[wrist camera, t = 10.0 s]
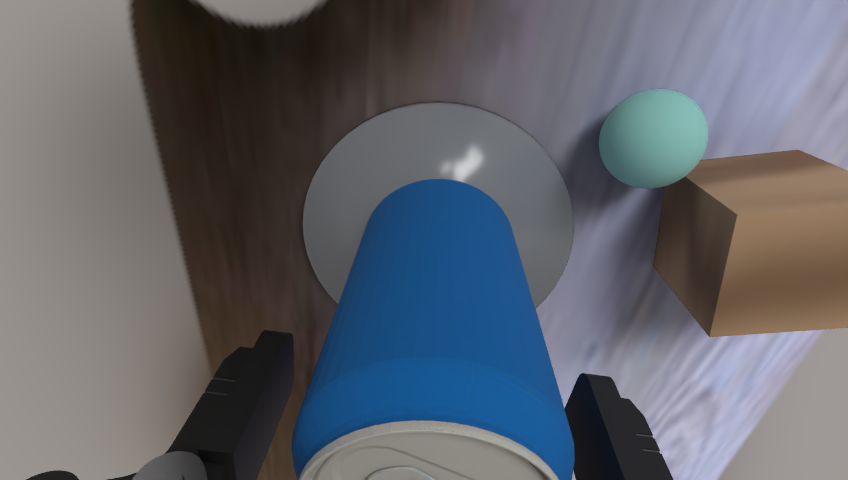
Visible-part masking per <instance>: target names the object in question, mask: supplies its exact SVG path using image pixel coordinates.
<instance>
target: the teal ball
mask: <svg viewBox="0 0 848 480" xmlns="http://www.w3.org/2000/svg"><path fill="white" fill-rule="evenodd" d="M707 143H708V125H707V121H706V118H705V116H704V114H703V112H702V110H701V109H700V107H699V106H698V105H697V104H696V103H695V102H694V101H693V100H692V99H691V98H689V97H687V96H685V95H684V94H682V93H679V92H677V91H672V90H668V89H651V90H645V91H642V92H639V93H636V94H634V95H632V96H630V97H628V98H626V99H624V100H623V101H622V102H620V103H619V104H618V105H617V106H616V107H615V108H614V109H613V110H612V111H611V112H610V113H609V115H608V116H607V118H606V120H605V121H604V123H603V126H602V128H601V132H600V137H599V151H600V156H601V159H602V161H603V163H604V165H605V167H606V168H607V170H608V171H609V172H610V173H611V174H612V175H613V176H614V177H615V178H616V179H618V180H619V181H621V182H623V183H625V184H627V185H630V186H633V187H637V188H646V189H649V188H659V187H663V186H667V185H670V184H672V183H675V182H677V181H679V180H680V179H682V178H683V177H685V176H686V175H687V174H689V173H690V172H691V171H692V170H693V169H694V168H695V167H696V165H697V164H698V163H699V161H700V160H701V158H702V156H703V154H704V152H705V150H706V147H707Z"/></svg>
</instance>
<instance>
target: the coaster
mask: <svg viewBox="0 0 848 480" xmlns="http://www.w3.org/2000/svg"><path fill="white" fill-rule="evenodd" d="M439 178H441V179H452V180H456V181H461V182H464V183H467V184H470V185H472V186H474V187H476V188H478V189H480V190H482V191H483V192H485V193H486V194H487V195H489V196H490V197H491V198H492V199H493V200H494V201H496V202H497V204H498V205H499V206H500V207H501V208H502V210H503V211H504V213H505V214H506V216H507V218H508V220H509V222H510V224H511V227H512V231H513V234H514V237H515V241H516V244H517V248H518V251H519V255H520V258H521V261H522V265H523V268H524V272H525V275H526V279H527V282H528V286H529V289H530V292H531V296H532V299H533V303H534V306H535V309H536V308H537V307H538V306H539V305H540V304H541V303H542V302H543V301H544V300H545V299H546V298H547V296H548V295H549V294H550V292H551V291H552V290H553V289H554V287H555V286H556V284H557V282H558V281H559V279H560V277H561V276H562V274H563V271H564V269H565V266H566V264H567V262H568V259H569V255H570V251H571V247H572V242H573V233H574V220H573V209H572V204H571V199H570V195H569V193H568V190H567V187H566V184H565V182H564V179H563V178H562V176H561V174H560V172H559V170H558V169H557V167H556V165H555V163H554V162H553V160H552V159H551V158H550V157H549V155H548V154H547V153H546V151H545V150H544V149H543V147H542V146H541V145H540V144H539V143H538V142H537V141H536V140H535V139H534V138H533V137H532V136H531V135H529V134H528V133H527V132H526V131H524V130H523V129H522V128H520V127H519V126H517V125H516V124H515V123H513V122H511V121H509V120H507V119H506V118H504V117H502V116H500V115H498V114H496V113H493V112H490V111H488V110H485V109H482V108H479V107H476V106H471V105H466V104H462V103H454V102H441V101H436V102H419V103H414V104H409V105H404V106H399V107H396V108H393V109H390V110H387V111H384V112H382V113H379V114H377V115H376V116H374V117H372V118H370V119H368V120H366V121H364V122H362V123H361V124H360V125H358V126H357V127H355V128H354V129H352V130H351V131H350V132H348V133H347V134H346V135H345V136H344V137H343V138H342V139H341V140H340V141H339V142H338V143H337V144H336V145H335V146H334V147H333V149H332V150H331V151H330V152H329V154H328V155H327V156H326V157H325V159H324V160H323V161H322V163H321V165H320V166H319V168H318V170H317V172H316V173H315V175H314V177H313V179H312V182H311V184H310V187H309V189H308V192H307V196H306V201H305V205H304V213H303V234H304V242H305V246H306V251H307V255H308V258H309V260H310V263H311V266H312V268H313V270H314V272H315V274H316V276H317V278H318V280H319V281H320V283H321V284H322V286H323V287H324V288H325V290H326V291H327V293H328V294H329V295H330V296H331V297H332V298H333V300H334V301H335V302H336V303H337V304H338V303H339V300H340V298H341V295H342V292H343V289H344V286H345V284H346V281H347V278H348V275H349V272H350V270H351V267H352V264H353V261H354V258H355V256H356V253H357V250H358V247H359V244H360V242H361V239H362V236H363V233H364V230H365V228H366V225H367V222H368V220H369V218H370V216H371V214H372V212H373V211H374V210H375V208H376V207H377V205H378V204H379V203H380V202H381V201H382V200H383V199H384V198H385V197H387V196H388V195H389V194H390V193H392V192H393V191H395V190H397V189H398V188H400V187H402V186H405V185H407V184H409V183H413V182H416V181H419V180H426V179H439Z"/></svg>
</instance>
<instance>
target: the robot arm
mask: <svg viewBox="0 0 848 480" xmlns="http://www.w3.org/2000/svg"><path fill="white" fill-rule="evenodd" d="M293 379H294V350H293V335H292V334H291V333H284V332H276V331H269V330H264V331H263V332H262V333H261V335H260V336H259V338H258V340H257V342H256V344H255V345H254V347H253V348H246V347H239V348H238V349H237V350H236V351H234V352H233V353H232V354H231V355H229V356H228V357H227V358H226V359H224V360H223V362H222V364H221V365H220V367H219V369H218V370H217V372H216V373H215V375H214V378H213V380H211V382H210V383H209V385H208V387H207V388H206V390H205V393H204V394H203V395H202V396H201V398H200V400H199V402H198V403H197V404H196V406H195V408H194V409H193V411H192V413H191V415H190V416H189V418H188V419H187V421H186V422H185V424H184V426H183V427H182V429H181V431H180V432H179V434H178V435H177V437H176V439H175V440H174V442H173V444H172V445H171V447H170V448H169V450H168V451H167V452H166V453H165V454H163V455H161V456H159V457H156V458H155V459H153V460H151V461H150V462H148V463H147V464H146V465H144V466H143V467H142V468H141V469H140V470H139V471H138V472H137V473H134V474H131V475H128V476H125V477H119V478H114V479H108V480H256V479H257V476H258V474H259V471H260V469H261V466H262V464H263V461H264V459H265V456H266V454H267V451H268V449H269V446H270V443H271V441H272V438H273V436H274V433H275V431H276V428H277V426H278V423H279V421H280V418H281V416H282V413H283V411H284V408H285V406H286V403H287V401H288V398H289V395H290V392H291V389H292V384H293ZM565 413H566V416H567V420H568V423H569V427H570V430H571V434H572V438H573V442H574V456H575V462H574V468H573V470H574V474H575V477H576V480H673V478H672V476H671V473H670V471H669V469H668V467H667V465H666V463H665V460H664V458H663V456H662V454H660V453H659V451H660V450H659V447H658V445H657V443H656V441H655V439H654V438H653V437H652V435H653V434H652V432H651V430H650V428H649V426H648V424H647V421H646V419H645V417H644V416H643V414H642V413H641V412H640V411H639V410H638V409H637V408H636V406H635V405H634V404H633V403H632V402H631V401H630V399H625V398H621V397H620V395H619V393H618V390H617V388H616V385H615V383H614V381H613V380H612V378H611V377H608V376H600V375H592V374H585V373H582V374H580V375H579V377H578V379H577V381H576V384H575V386H574V388H573V391H572V393H571V395H570V397H569V400H568V402H567V404H566V407H565ZM27 480H79V479H78V478H77V476H75V475H74V474H73V473H70V472H67V471H49V472H45V473H41V474H38V475H35V476H33V477H31V478H29V479H27Z"/></svg>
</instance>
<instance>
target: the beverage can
mask: <svg viewBox="0 0 848 480" xmlns="http://www.w3.org/2000/svg"><path fill="white" fill-rule="evenodd" d="M292 454H293V464H294V469H295V472H296V475H297V478H298V480H571V479H572V474H573V468H574V462H575V456H574V442H573V438H572V434H571V430H570V427H569V423H568V420H567V416H566V413H565V409H564V406H563V402H562V399H561V396H560V392H559V389H558V385H557V382H556V378H555V375H554V372H553V368H552V365H551V361H550V358H549V354H548V351H547V347H546V344H545V341H544V337H543V334H542V330H541V327H540V323H539V320H538V316H537V313H536V310H535V306H534V303H533V299H532V296H531V292H530V289H529V286H528V282H527V279H526V275H525V272H524V268H523V265H522V261H521V258H520V255H519V251H518V248H517V244H516V241H515V237H514V234H513V231H512V227H511V224H510V222H509V220H508V218H507V216H506V214H505V213H504V211H503V210H502V208H501V207H500V206H499V205H498V204H497V202H496V201H494V200H493V199H492V198H491V197H490V196H489V195H487V194H486V193H485V192H483V191H482V190H480V189H478V188H476V187H474V186H472V185H470V184H467V183H464V182H461V181H456V180H452V179H441V178H439V179H426V180H419V181H416V182H413V183H409V184H407V185H405V186H402V187H400V188H398V189H397V190H395V191H393V192H392V193H390V194H389V195H388V196H387V197H385V198H384V199H383V200H382V201H381V202H380V203H379V204H378V205H377V207H376V208H375V210H374V211H373V212H372V214H371V216H370V218H369V220H368V222H367V225H366V228H365V230H364V233H363V236H362V239H361V242H360V244H359V247H358V250H357V253H356V256H355V258H354V261H353V264H352V267H351V270H350V272H349V275H348V278H347V281H346V284H345V286H344V289H343V292H342V295H341V298H340V300H339V303H338V306H337V309H336V312H335V314H334V317H333V320H332V323H331V326H330V328H329V331H328V334H327V337H326V340H325V342H324V345H323V348H322V351H321V354H320V356H319V359H318V362H317V365H316V368H315V370H314V373H313V376H312V379H311V382H310V384H309V387H308V390H307V393H306V396H305V398H304V401H303V404H302V407H301V410H300V412H299V415H298V418H297V421H296V424H295V427H294V431H293V440H292Z"/></svg>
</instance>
